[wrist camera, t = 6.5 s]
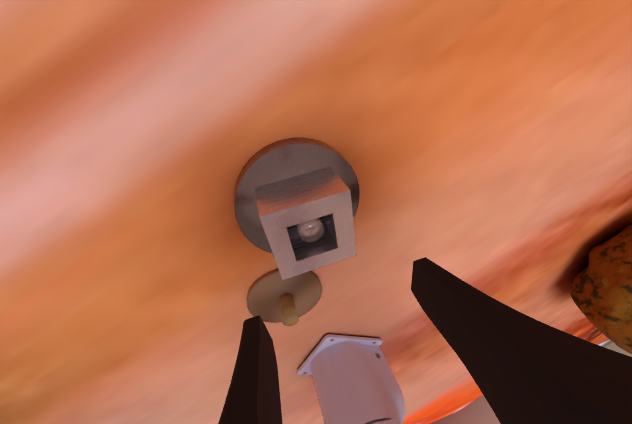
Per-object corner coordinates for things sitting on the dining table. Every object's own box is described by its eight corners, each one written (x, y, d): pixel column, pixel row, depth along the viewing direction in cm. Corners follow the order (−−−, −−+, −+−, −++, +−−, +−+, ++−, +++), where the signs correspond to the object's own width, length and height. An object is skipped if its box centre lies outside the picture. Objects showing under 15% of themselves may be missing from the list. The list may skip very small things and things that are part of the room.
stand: (333, 274, 25) (344, 298, 23) (299, 321, 28) (306, 347, 25) (266, 259, 22) (270, 286, 19) (235, 314, 24) (235, 344, 22)
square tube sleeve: (330, 166, 17) (350, 190, 14) (338, 226, 20) (356, 255, 17) (254, 187, 16) (259, 216, 13) (275, 246, 19) (282, 280, 16)
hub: (372, 168, 20) (404, 195, 16) (316, 253, 23) (332, 292, 19) (266, 113, 15) (277, 133, 12) (216, 227, 19) (212, 270, 15)
